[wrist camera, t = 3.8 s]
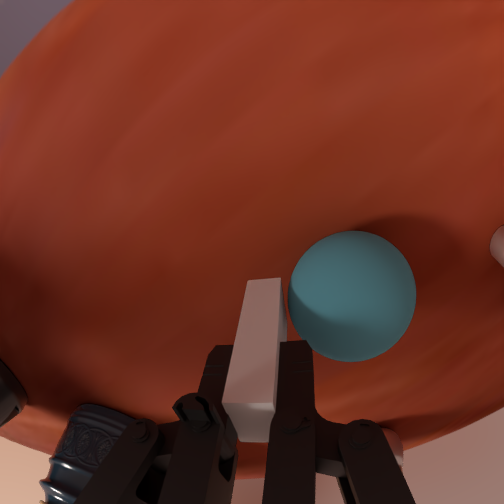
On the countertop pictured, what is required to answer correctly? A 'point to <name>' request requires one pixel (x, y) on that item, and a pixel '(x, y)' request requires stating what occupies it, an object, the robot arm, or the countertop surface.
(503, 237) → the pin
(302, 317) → the ball
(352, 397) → the countertop surface
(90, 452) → the canister
